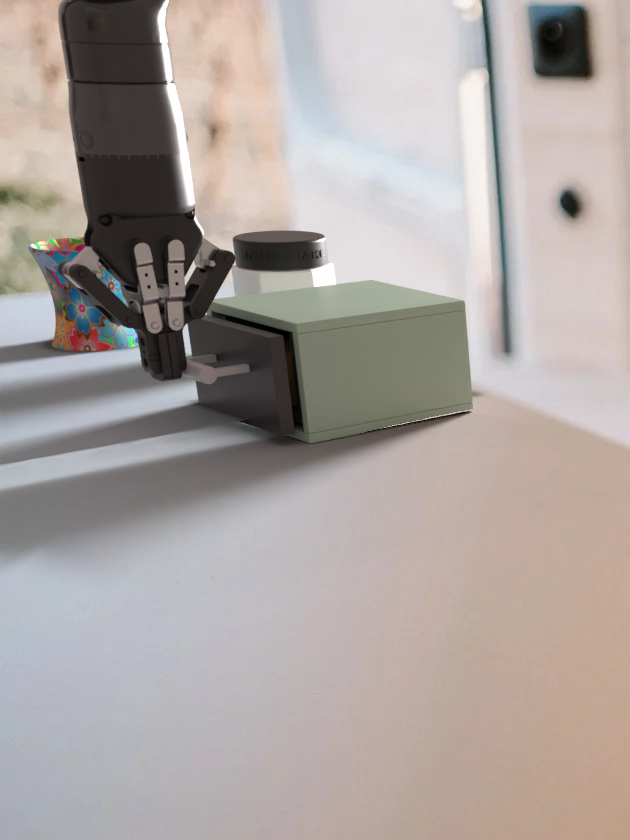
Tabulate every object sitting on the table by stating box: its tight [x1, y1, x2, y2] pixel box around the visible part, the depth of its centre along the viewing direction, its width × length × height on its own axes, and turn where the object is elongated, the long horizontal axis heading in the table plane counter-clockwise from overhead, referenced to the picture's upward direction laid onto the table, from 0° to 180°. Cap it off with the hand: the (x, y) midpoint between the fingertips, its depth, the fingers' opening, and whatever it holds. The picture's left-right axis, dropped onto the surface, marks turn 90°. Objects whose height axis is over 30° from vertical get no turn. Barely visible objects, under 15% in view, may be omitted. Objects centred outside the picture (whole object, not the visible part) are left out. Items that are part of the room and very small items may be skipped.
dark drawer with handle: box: [182, 314, 303, 437], centre depth 133 cm, size 19×12×8 cm, turn 142°
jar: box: [230, 230, 337, 297], centre depth 152 cm, size 9×8×12 cm
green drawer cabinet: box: [206, 279, 474, 444], centre depth 136 cm, size 16×14×10 cm
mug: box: [27, 236, 139, 352], centre depth 153 cm, size 12×9×11 cm
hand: (166, 378), depth 125 cm, fingers closed
